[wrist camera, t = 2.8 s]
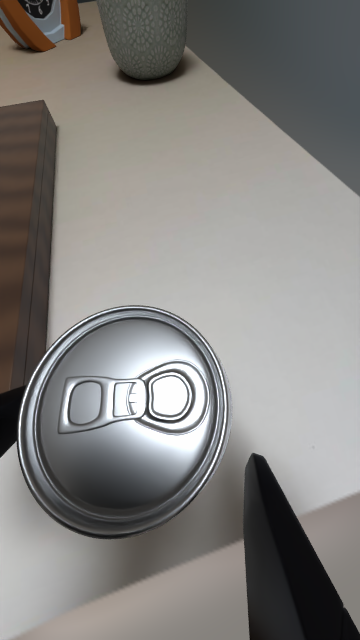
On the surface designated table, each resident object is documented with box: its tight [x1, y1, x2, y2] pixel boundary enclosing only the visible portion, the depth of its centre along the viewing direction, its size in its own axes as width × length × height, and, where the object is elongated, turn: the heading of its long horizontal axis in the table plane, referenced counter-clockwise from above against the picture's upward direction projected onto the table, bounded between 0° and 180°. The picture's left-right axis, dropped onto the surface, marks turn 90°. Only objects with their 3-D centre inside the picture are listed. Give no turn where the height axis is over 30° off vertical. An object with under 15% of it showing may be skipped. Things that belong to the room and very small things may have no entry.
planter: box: [96, 0, 187, 80], centre depth 37 cm, size 17×17×15 cm
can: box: [17, 305, 232, 539], centre depth 11 cm, size 6×6×12 cm
